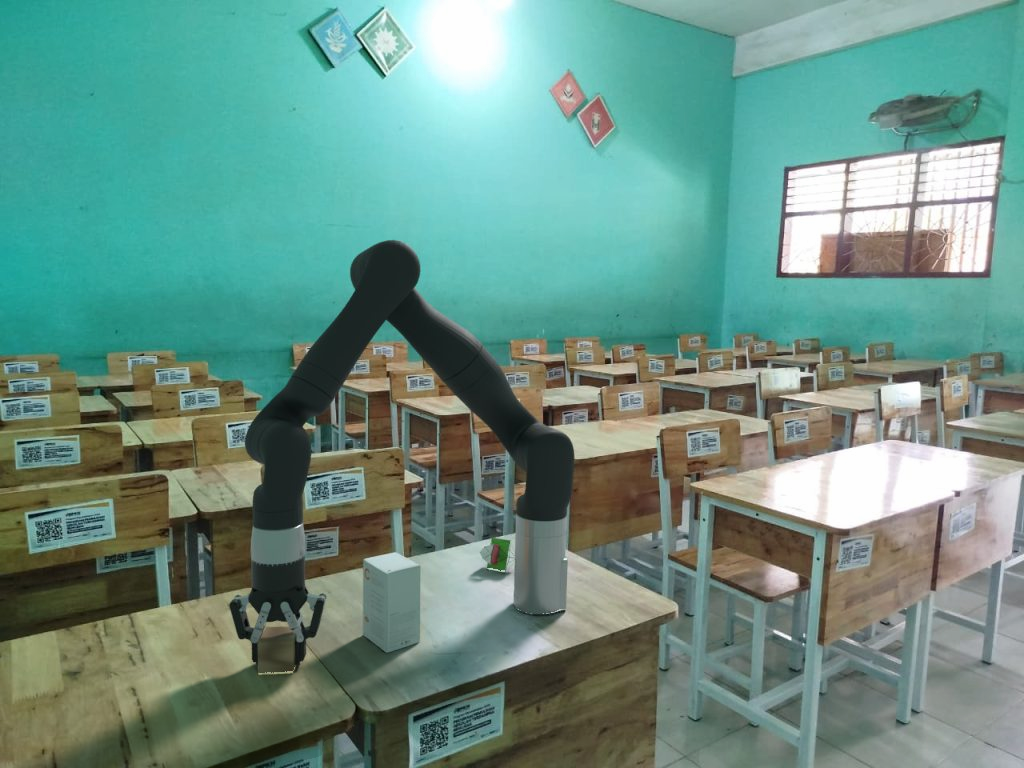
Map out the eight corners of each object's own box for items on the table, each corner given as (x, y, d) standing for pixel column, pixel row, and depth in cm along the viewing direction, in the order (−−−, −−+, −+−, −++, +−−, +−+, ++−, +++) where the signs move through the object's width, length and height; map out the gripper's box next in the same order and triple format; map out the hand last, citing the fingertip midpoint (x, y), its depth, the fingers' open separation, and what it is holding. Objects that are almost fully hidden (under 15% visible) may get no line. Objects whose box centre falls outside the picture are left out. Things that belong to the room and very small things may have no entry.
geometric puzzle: (494, 549, 153) (484, 527, 148) (523, 554, 150) (515, 531, 145) (482, 578, 148) (472, 555, 143) (512, 583, 146) (503, 561, 141)
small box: (420, 642, 114) (421, 565, 113) (386, 654, 110) (386, 573, 109) (395, 625, 121) (396, 550, 119) (361, 635, 117) (361, 558, 115)
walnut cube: (299, 657, 109) (299, 626, 108) (293, 674, 104) (293, 641, 103) (266, 658, 108) (265, 627, 108) (257, 675, 103) (257, 642, 103)
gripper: (331, 544, 108) (331, 650, 110) (235, 545, 107) (236, 652, 109) (324, 561, 101) (324, 674, 103) (220, 562, 100) (221, 677, 101)
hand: (279, 662), depth 106 cm, fingers closed on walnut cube, 5 cm apart
